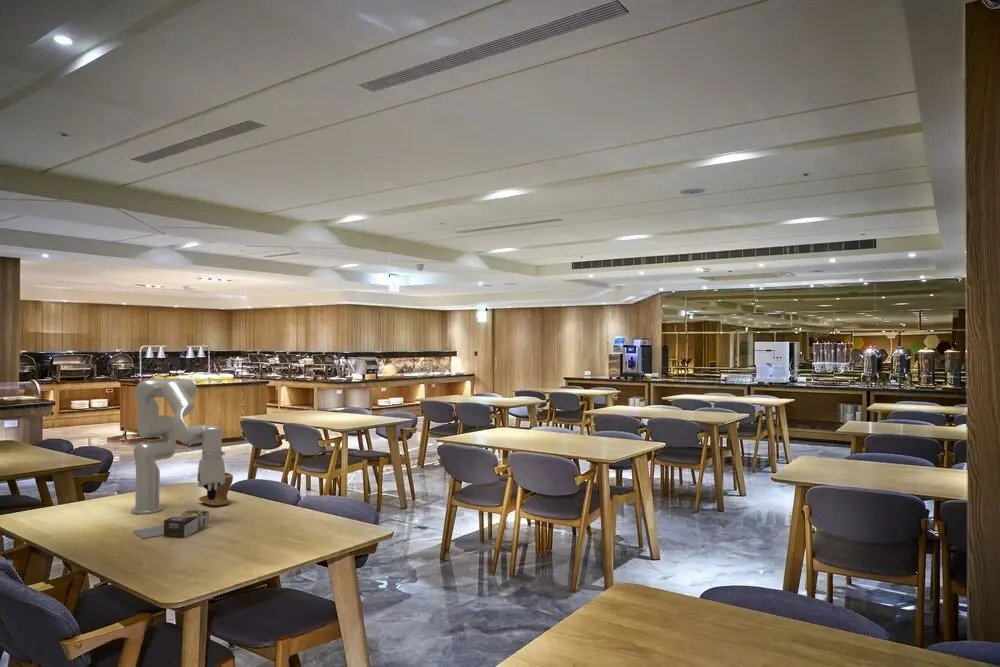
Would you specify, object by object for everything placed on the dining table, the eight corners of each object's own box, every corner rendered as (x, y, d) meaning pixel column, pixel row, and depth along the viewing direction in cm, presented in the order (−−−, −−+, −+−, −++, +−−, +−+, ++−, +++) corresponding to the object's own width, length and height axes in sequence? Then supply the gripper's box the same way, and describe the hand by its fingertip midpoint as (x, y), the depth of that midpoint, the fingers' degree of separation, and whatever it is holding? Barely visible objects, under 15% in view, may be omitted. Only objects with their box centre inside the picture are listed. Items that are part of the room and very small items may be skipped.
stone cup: (236, 504, 306) (237, 472, 307) (211, 508, 298) (211, 476, 298) (222, 499, 317) (223, 468, 317) (198, 503, 308) (198, 471, 308)
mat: (132, 531, 260) (132, 530, 260) (180, 523, 272) (180, 522, 272) (142, 539, 250) (142, 538, 250) (192, 530, 262) (192, 529, 262)
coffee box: (209, 510, 267) (185, 521, 251) (208, 525, 267) (184, 538, 251) (189, 508, 269) (163, 519, 253) (188, 523, 269) (162, 536, 253)
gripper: (226, 452, 283) (226, 495, 282) (190, 456, 272) (189, 500, 272) (233, 454, 277) (232, 498, 277) (196, 458, 267) (195, 503, 266)
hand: (211, 499), depth 274 cm, fingers closed
